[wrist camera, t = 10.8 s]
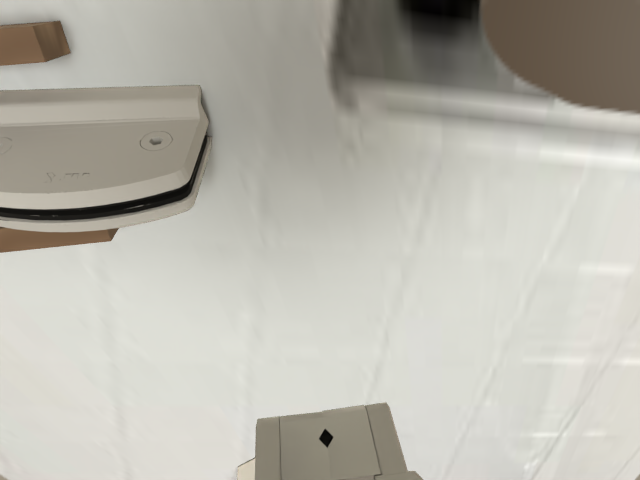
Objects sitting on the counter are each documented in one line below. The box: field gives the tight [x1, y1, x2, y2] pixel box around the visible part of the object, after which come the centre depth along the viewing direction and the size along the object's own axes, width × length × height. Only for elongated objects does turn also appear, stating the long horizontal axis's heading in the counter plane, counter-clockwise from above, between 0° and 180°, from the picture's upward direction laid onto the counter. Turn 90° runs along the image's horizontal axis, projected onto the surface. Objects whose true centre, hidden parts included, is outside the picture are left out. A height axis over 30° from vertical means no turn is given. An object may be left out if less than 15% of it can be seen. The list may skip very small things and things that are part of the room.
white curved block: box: [0, 85, 212, 232], centre depth 30 cm, size 17×5×10 cm, turn 90°
